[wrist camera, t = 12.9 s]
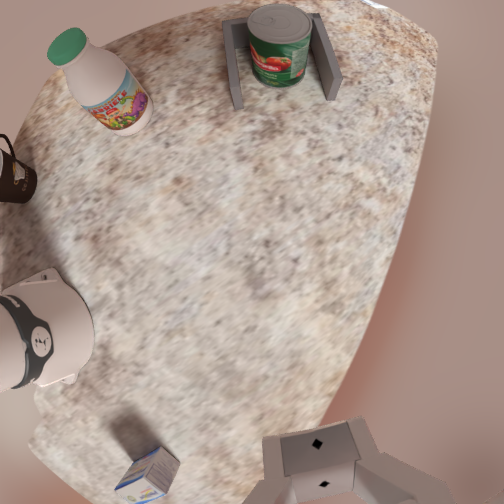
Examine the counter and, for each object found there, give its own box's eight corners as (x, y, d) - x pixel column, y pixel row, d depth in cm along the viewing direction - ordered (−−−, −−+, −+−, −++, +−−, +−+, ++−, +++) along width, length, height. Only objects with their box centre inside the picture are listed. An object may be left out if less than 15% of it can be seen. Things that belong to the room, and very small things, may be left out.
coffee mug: (33, 213, 41) (-8, 204, 31) (6, 205, 42) (-31, 197, 32) (52, 147, 41) (16, 128, 31) (24, 145, 42) (-10, 128, 32)
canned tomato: (308, 56, 39) (316, 9, 29) (300, 94, 39) (307, 48, 28) (258, 47, 40) (255, 0, 29) (246, 84, 40) (240, 37, 29)
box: (235, 109, 40) (229, 87, 34) (226, 44, 40) (221, 21, 34) (334, 100, 39) (342, 78, 33) (314, 37, 40) (319, 13, 34)
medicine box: (161, 445, 39) (142, 475, 30) (182, 463, 38) (166, 495, 30) (133, 462, 39) (112, 490, 30) (151, 479, 38) (134, 508, 30)
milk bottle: (103, 114, 41) (31, 50, 21) (142, 85, 41) (84, 7, 21) (121, 147, 41) (40, 84, 21) (162, 116, 40) (101, 34, 20)
